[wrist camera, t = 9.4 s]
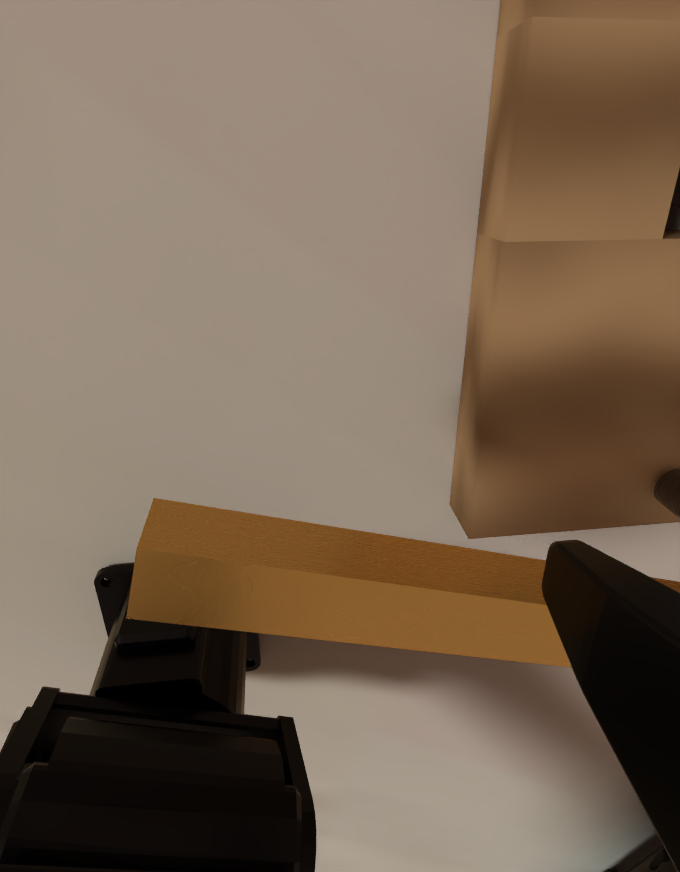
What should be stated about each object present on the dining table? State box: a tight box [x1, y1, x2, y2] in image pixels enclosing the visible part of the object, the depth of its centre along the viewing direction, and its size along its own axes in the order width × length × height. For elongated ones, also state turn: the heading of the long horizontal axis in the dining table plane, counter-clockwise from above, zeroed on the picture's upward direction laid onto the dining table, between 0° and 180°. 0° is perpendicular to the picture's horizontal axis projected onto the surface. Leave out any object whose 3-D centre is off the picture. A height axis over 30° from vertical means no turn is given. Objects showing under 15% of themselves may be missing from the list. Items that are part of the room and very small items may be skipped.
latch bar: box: [126, 468, 680, 668], centre depth 15 cm, size 19×2×9 cm, turn 74°
